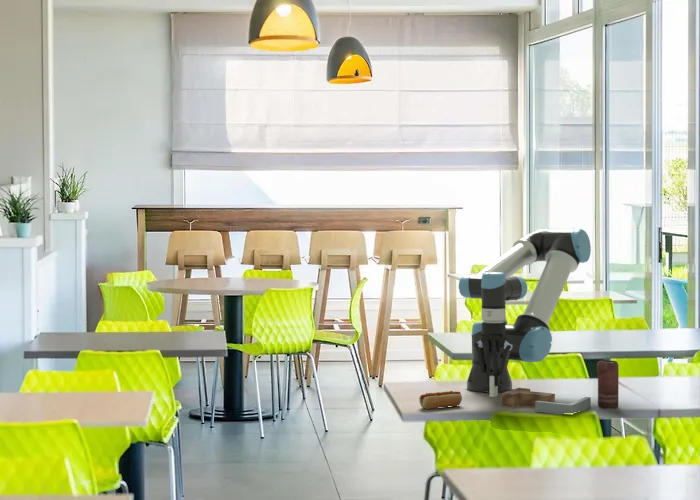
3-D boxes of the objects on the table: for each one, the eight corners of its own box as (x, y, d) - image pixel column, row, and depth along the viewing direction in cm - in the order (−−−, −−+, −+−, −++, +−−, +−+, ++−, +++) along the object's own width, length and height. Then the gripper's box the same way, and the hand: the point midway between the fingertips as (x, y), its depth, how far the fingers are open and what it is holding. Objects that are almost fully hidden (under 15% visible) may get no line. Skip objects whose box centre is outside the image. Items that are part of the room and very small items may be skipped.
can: (594, 405, 328) (594, 360, 328) (614, 404, 329) (614, 359, 328) (600, 409, 322) (600, 363, 322) (621, 408, 323) (621, 362, 322)
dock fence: (535, 411, 319) (535, 401, 319) (555, 403, 332) (555, 393, 332) (571, 415, 313) (571, 405, 313) (590, 407, 325) (590, 397, 325)
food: (425, 411, 322) (425, 395, 322) (416, 408, 327) (416, 392, 327) (465, 407, 328) (465, 391, 327) (456, 404, 333) (455, 388, 332)
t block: (501, 406, 328) (501, 393, 328) (518, 400, 338) (518, 387, 338) (544, 411, 320) (544, 397, 320) (560, 404, 330) (560, 391, 330)
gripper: (469, 321, 336) (469, 395, 337) (507, 323, 329) (507, 399, 330) (480, 319, 342) (480, 392, 343) (517, 321, 335) (517, 396, 336)
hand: (493, 396), depth 336 cm, fingers closed
